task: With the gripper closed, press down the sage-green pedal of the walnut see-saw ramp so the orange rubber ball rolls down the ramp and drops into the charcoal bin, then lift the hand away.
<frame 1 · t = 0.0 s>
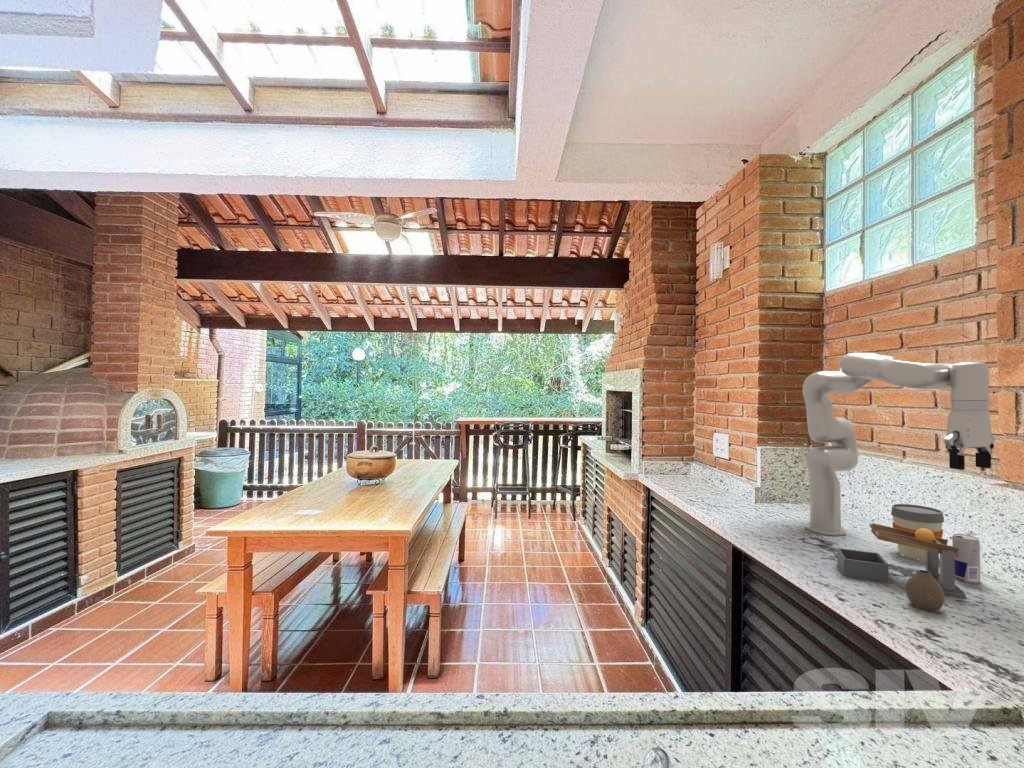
hand: (970, 468, 124), 31 cm above the counter, tool pointing down, fingers open, 9 cm apart
energy drink: (966, 580, 125), on the counter
wooden tilting tray: (908, 536, 127), point 11 cm above the counter, hinge at -8.0°, touching ball
reusable coffee cup: (917, 556, 143), on the counter
bin: (861, 573, 129), on the counter
vase: (924, 608, 109), on the counter
lever stand: (939, 585, 121), on the counter
ball: (924, 535, 123), point 13 cm above the counter, tilted 19°, touching wooden tilting tray
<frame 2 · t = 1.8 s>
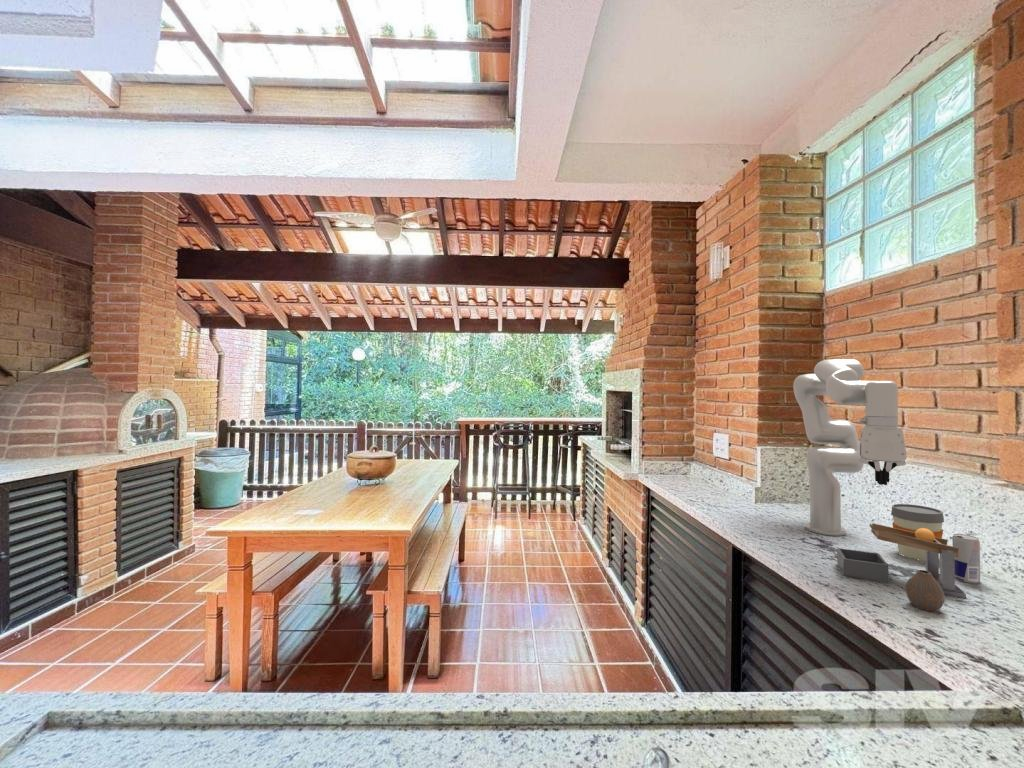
hand: (882, 484, 133), 25 cm above the counter, tool pointing down, fingers closed
nothing on the counter moved.
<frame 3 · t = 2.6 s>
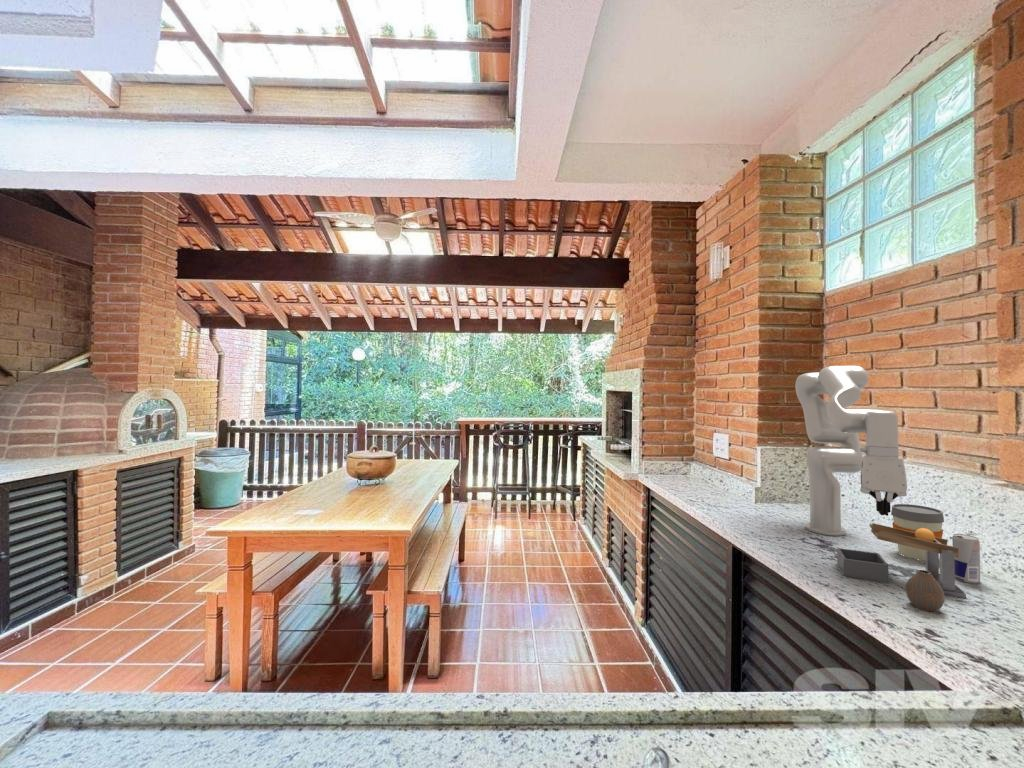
hand: (883, 514, 132), 16 cm above the counter, tool pointing down, fingers closed
nothing on the counter moved.
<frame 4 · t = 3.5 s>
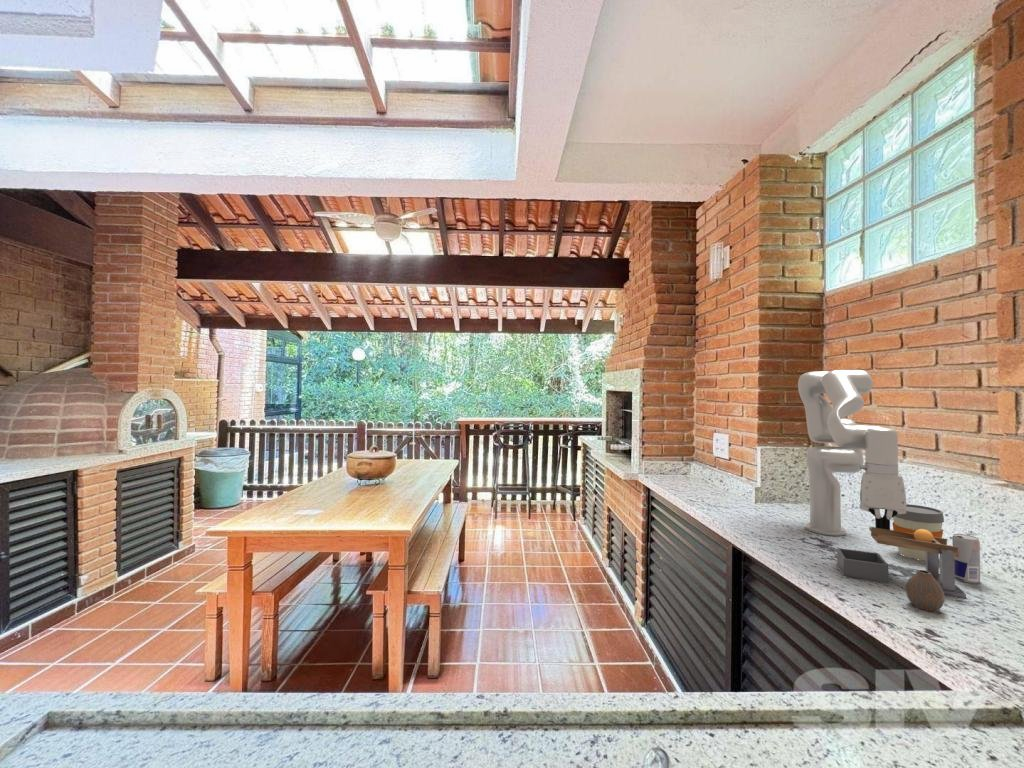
hand: (882, 531, 133), 11 cm above the counter, tool pointing down, fingers closed
wooden tilting tray: (907, 538, 127), point 11 cm above the counter, hinge at -3.2°, touching ball, gripper
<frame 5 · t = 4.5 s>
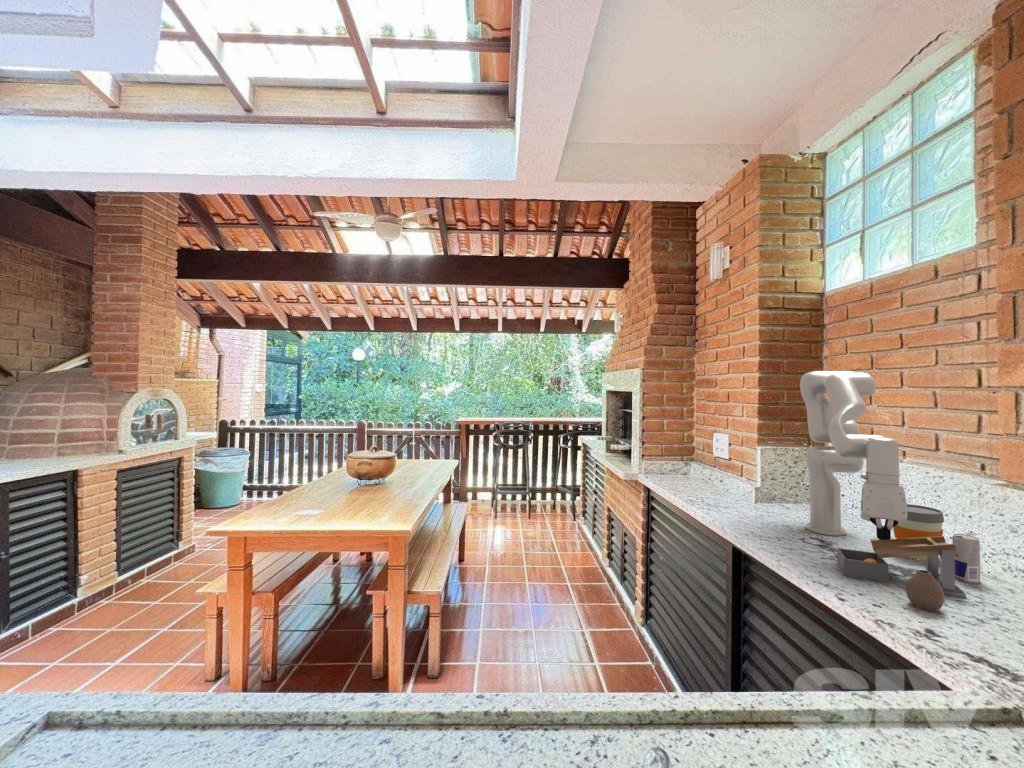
hand: (883, 541, 133), 8 cm above the counter, tool pointing down, fingers closed
wooden tilting tray: (907, 543, 127), point 9 cm above the counter, hinge at 13.2°, touching gripper
ball: (871, 565, 128), point 3 cm above the counter, tilted 49°, touching bin
everything else where it was.
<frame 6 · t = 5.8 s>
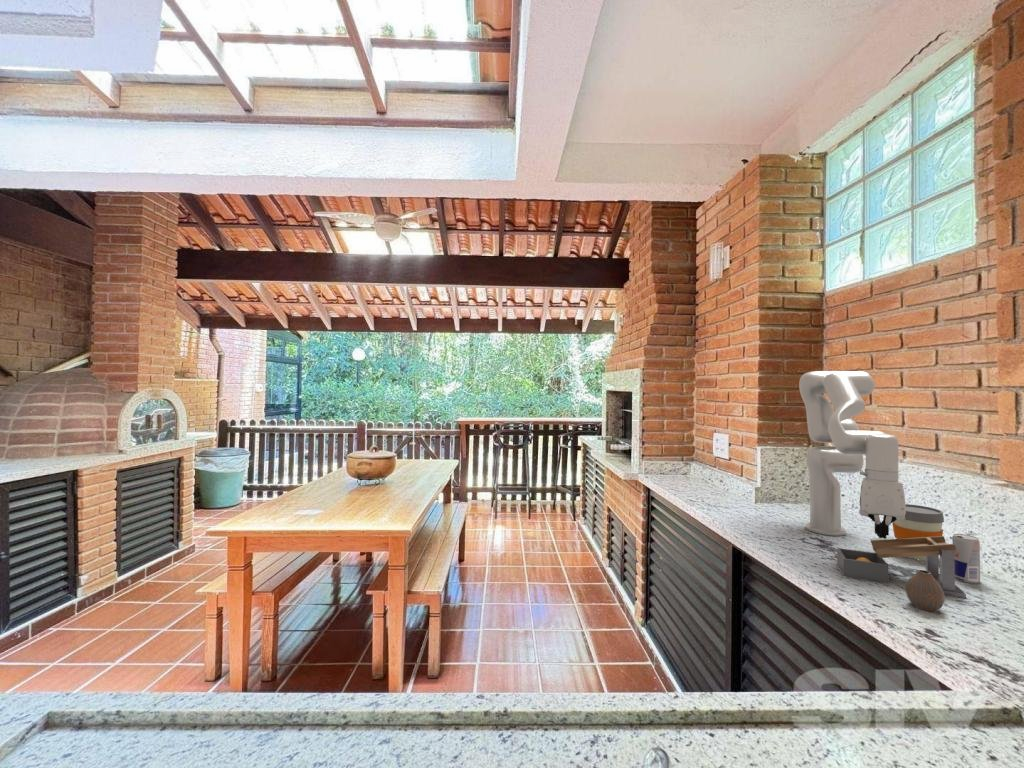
hand: (881, 536, 133), 9 cm above the counter, tool pointing down, fingers closed
wooden tilting tray: (907, 543, 127), point 9 cm above the counter, hinge at 13.2°
ball: (863, 564, 129), point 3 cm above the counter, touching bin
everything else where it was.
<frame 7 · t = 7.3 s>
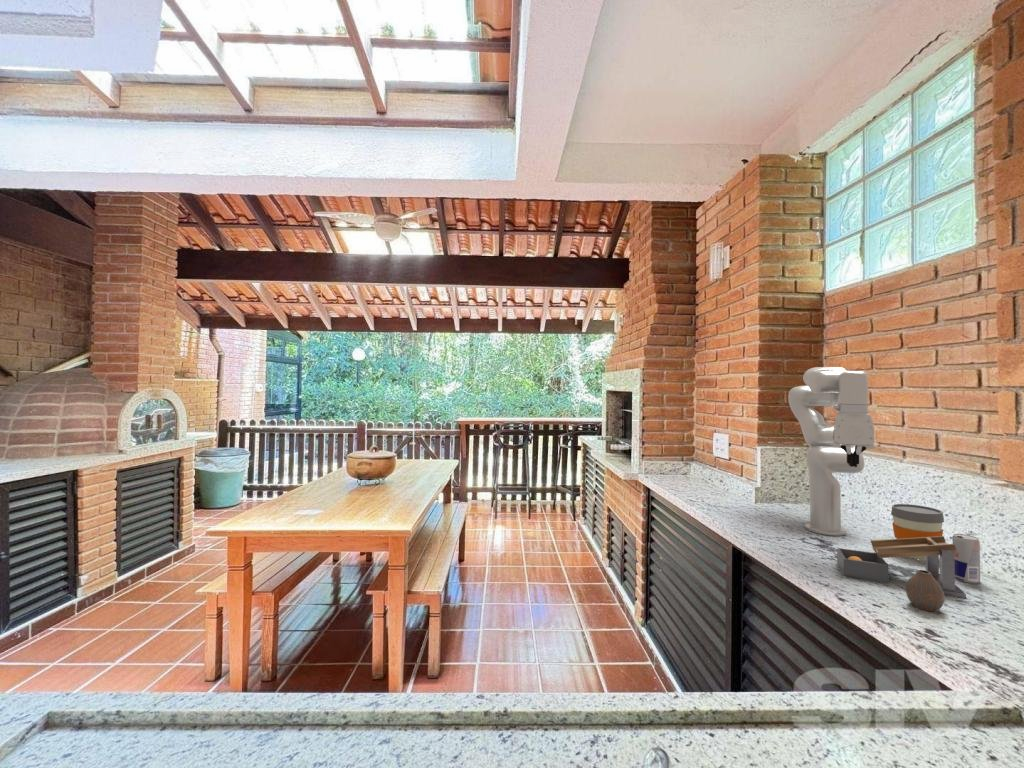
hand: (852, 466, 145), 28 cm above the counter, tool pointing down, fingers closed
ball: (855, 563, 130), point 3 cm above the counter, tilted 57°, touching bin
everything else where it was.
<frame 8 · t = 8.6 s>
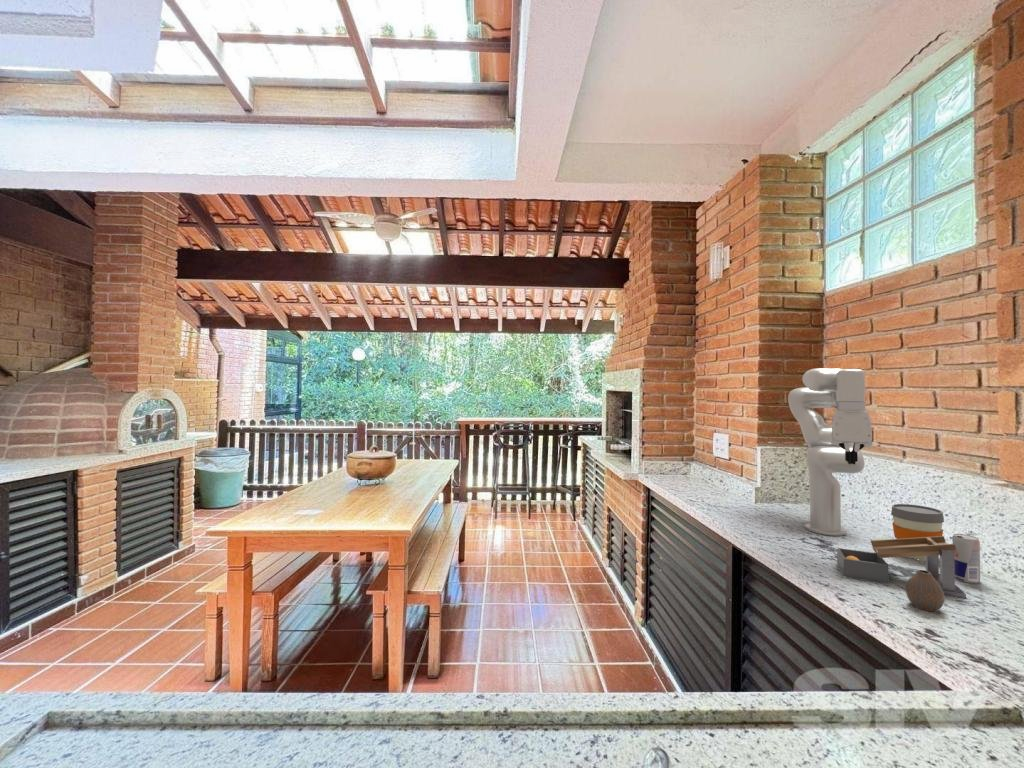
hand: (851, 463, 145), 29 cm above the counter, tool pointing down, fingers closed
ball: (852, 563, 130), point 3 cm above the counter, tilted 77°, touching bin
everything else where it was.
at the end: ball inside the target area on the bin (2.0 cm from its centre), point 2.6 cm above the bin's base; wooden tilting tray at +13° (first picture: -8°) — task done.
